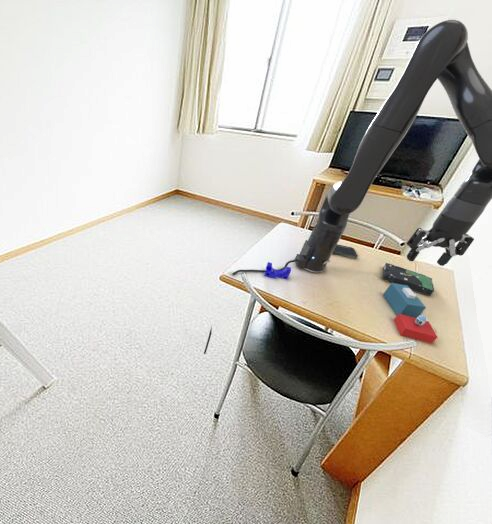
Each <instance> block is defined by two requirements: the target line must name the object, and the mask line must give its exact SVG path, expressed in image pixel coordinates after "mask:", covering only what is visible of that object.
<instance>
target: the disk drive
mask: <svg viewBox="0 0 492 524" xmlns="http://www.w3.org/2000/svg"><path fill="white" fill-rule="evenodd" d="M381 279H382V280H384V281H386V282H387V283H388V282H389V283H390V284H391V283H395V284H401V285H407V286H408V287H409V288H410V289H411V290H412V291H413V292H417V293H420V294H423V295H426V296H432V294H433V293H434V292H435V287H434V283H433V277H431V276H427V275H425V274H422V273H419V272H416V271H412V270H410V269H406V268H404V267H401V266H398V265H395V264H392V263H388V262H385V264H384V266H383V268H382V275H381Z"/></svg>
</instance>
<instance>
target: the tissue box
mask: <svg viewBox="0 0 492 524" xmlns="http://www.w3.org/2000/svg"><path fill="white" fill-rule="evenodd" d="M382 296H383V297H384V299H385V301H386V302H387V303H388V304H389V306H390V307H391V309H392V310H393V312H394V313H395V314H396V316H397V315H398V314H402V315H406V316H410V317H414V318H417V317H418V316H421V314H423V312H424V310H426V308H427V306H426V305H425V304H424V303H423V302H422V300H421V299H420V297H418V296H417V295H416V294H415V291H414V290H411V289H410V288H409V287H408V286H407V285H401V284H395V283H391V282H390V284H389V286H388V287H387V288H386V289H385V291H384V292H383V294H382Z"/></svg>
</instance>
